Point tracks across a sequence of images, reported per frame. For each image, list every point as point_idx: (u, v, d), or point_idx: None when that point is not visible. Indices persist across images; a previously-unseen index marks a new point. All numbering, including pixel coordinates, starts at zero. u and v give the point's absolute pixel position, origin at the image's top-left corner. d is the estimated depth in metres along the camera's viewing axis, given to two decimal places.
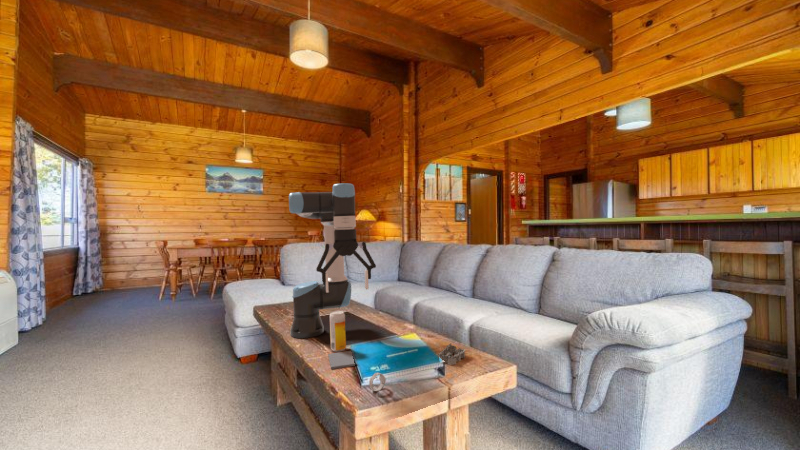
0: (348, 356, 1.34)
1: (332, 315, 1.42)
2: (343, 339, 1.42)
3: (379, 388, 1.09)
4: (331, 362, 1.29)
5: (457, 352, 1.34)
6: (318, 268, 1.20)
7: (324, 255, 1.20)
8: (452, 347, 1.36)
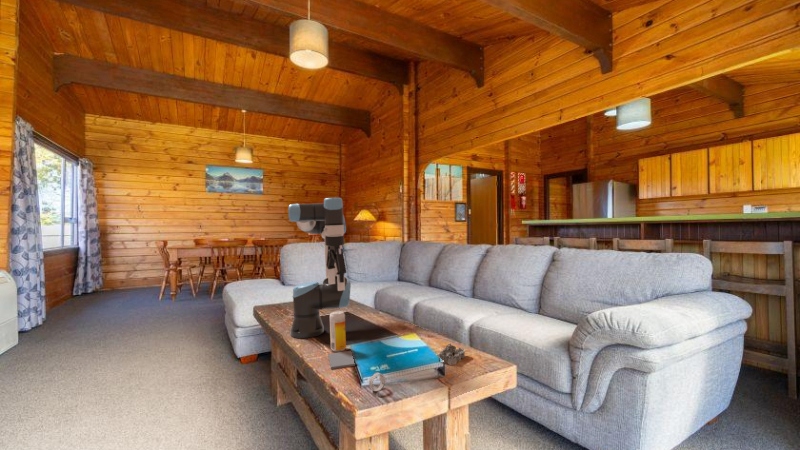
0: (348, 356, 1.34)
1: (332, 315, 1.42)
2: (343, 339, 1.42)
3: (379, 388, 1.09)
4: (331, 362, 1.29)
5: (457, 352, 1.34)
6: (326, 264, 1.55)
7: (327, 255, 1.52)
8: (452, 347, 1.36)
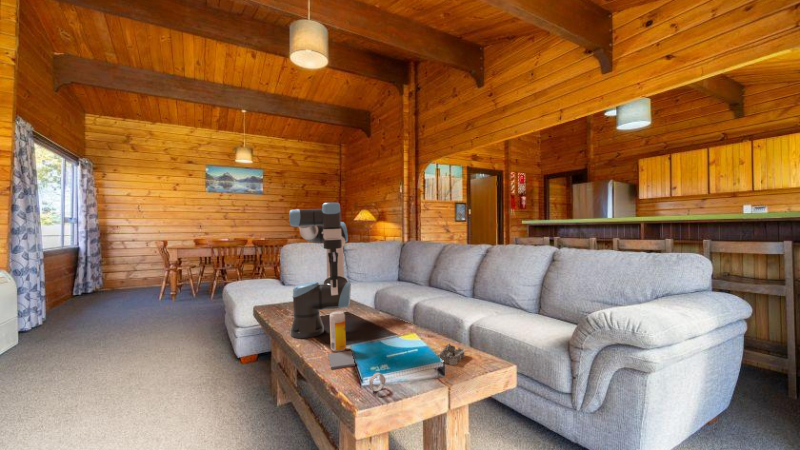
0: (348, 356, 1.34)
1: (332, 315, 1.42)
2: (343, 339, 1.42)
3: (379, 388, 1.09)
4: (331, 362, 1.29)
5: (456, 352, 1.34)
6: (330, 274, 1.55)
7: None
8: (451, 347, 1.36)
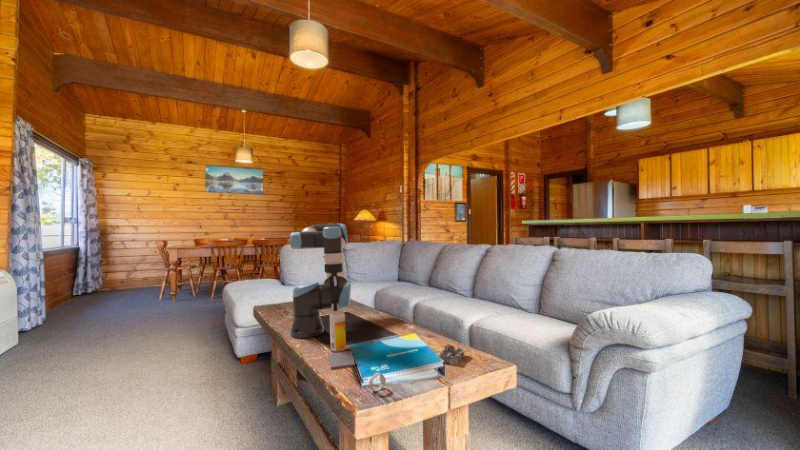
0: (348, 356, 1.34)
1: (332, 315, 1.42)
2: (343, 339, 1.42)
3: (379, 388, 1.09)
4: (331, 362, 1.29)
5: (456, 352, 1.34)
6: None
7: (330, 286, 1.56)
8: (450, 347, 1.36)
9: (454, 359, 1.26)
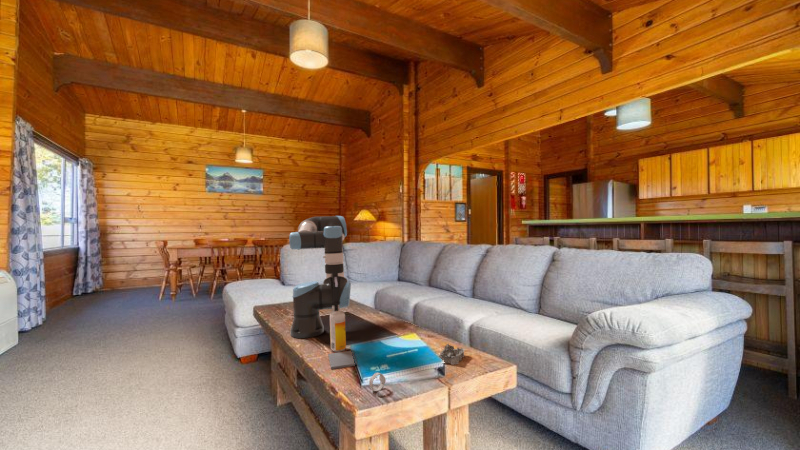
0: (348, 356, 1.34)
1: (332, 315, 1.41)
2: (343, 339, 1.42)
3: (379, 388, 1.09)
4: (331, 362, 1.29)
5: (455, 352, 1.34)
6: None
7: (331, 287, 1.52)
8: (450, 347, 1.36)
9: (455, 359, 1.26)
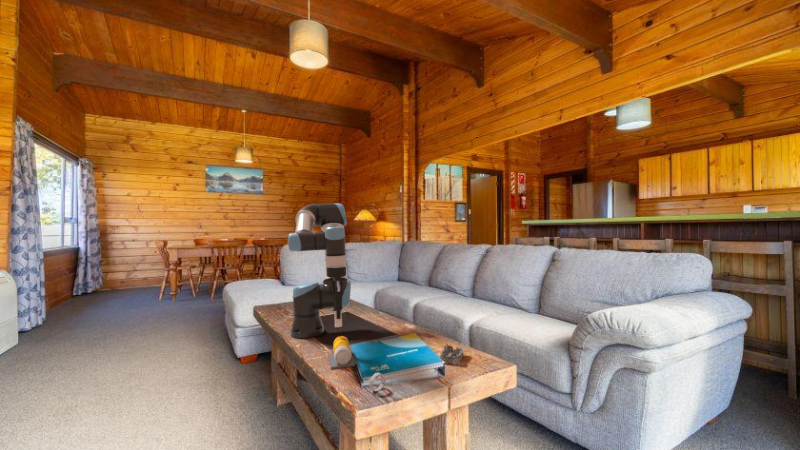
0: None
1: (336, 361, 1.27)
2: None
3: (379, 388, 1.09)
4: (331, 362, 1.29)
5: (455, 352, 1.34)
6: None
7: None
8: (449, 347, 1.36)
9: (456, 359, 1.26)
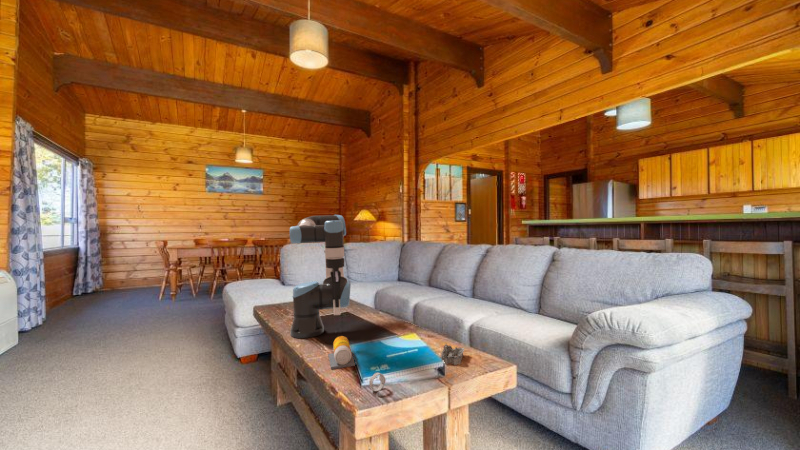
0: None
1: (336, 361, 1.27)
2: None
3: (379, 388, 1.09)
4: (331, 362, 1.29)
5: (454, 351, 1.34)
6: (332, 293, 1.51)
7: (332, 282, 1.52)
8: (448, 347, 1.36)
9: (458, 359, 1.26)
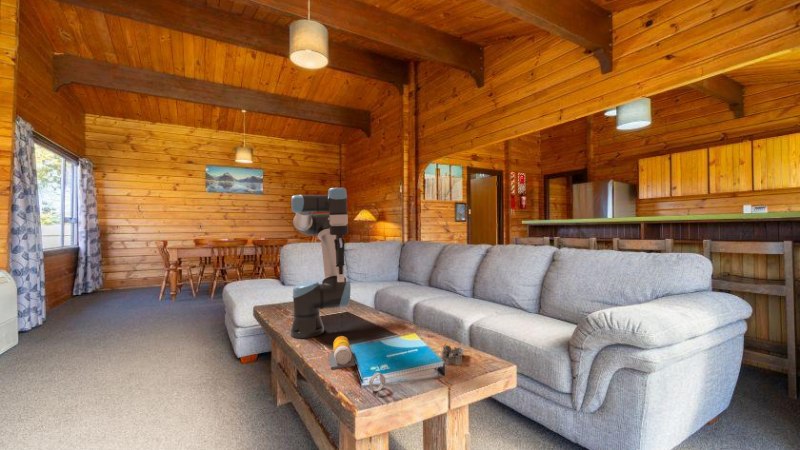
0: None
1: (336, 361, 1.27)
2: None
3: (379, 388, 1.09)
4: (331, 362, 1.29)
5: (453, 351, 1.34)
6: (336, 261, 1.52)
7: None
8: (447, 347, 1.35)
9: (459, 359, 1.26)
